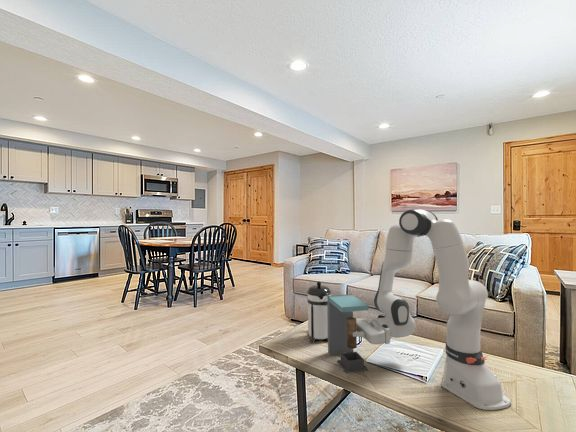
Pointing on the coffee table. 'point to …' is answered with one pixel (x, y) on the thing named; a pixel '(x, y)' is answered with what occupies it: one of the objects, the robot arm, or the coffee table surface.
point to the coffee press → (318, 312)
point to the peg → (351, 327)
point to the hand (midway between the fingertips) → (349, 331)
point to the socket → (351, 362)
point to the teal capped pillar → (341, 320)
